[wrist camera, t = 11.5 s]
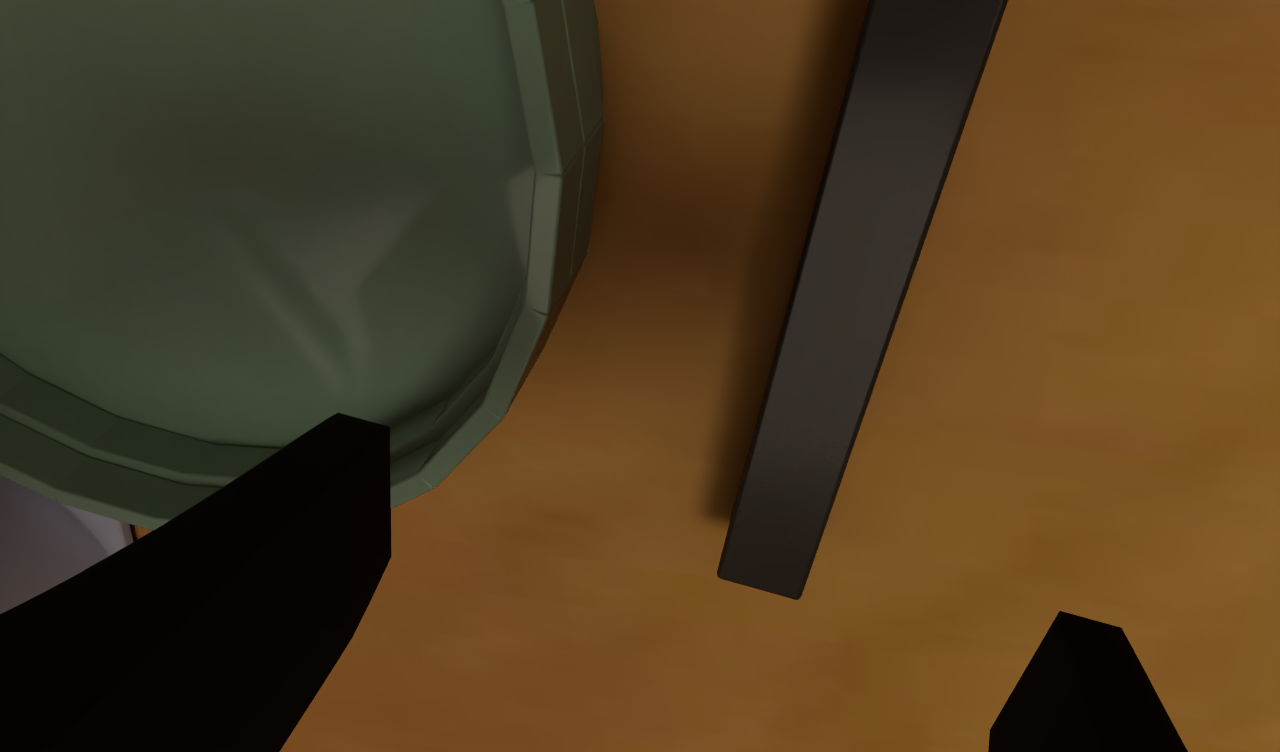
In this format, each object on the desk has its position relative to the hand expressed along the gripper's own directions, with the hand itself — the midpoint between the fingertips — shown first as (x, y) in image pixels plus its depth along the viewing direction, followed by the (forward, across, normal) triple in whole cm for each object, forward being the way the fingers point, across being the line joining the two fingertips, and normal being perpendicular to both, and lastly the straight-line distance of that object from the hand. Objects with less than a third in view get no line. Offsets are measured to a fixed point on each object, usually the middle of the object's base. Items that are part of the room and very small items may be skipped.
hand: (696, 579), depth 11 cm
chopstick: (+9, -1, 0) cm, 9 cm away
